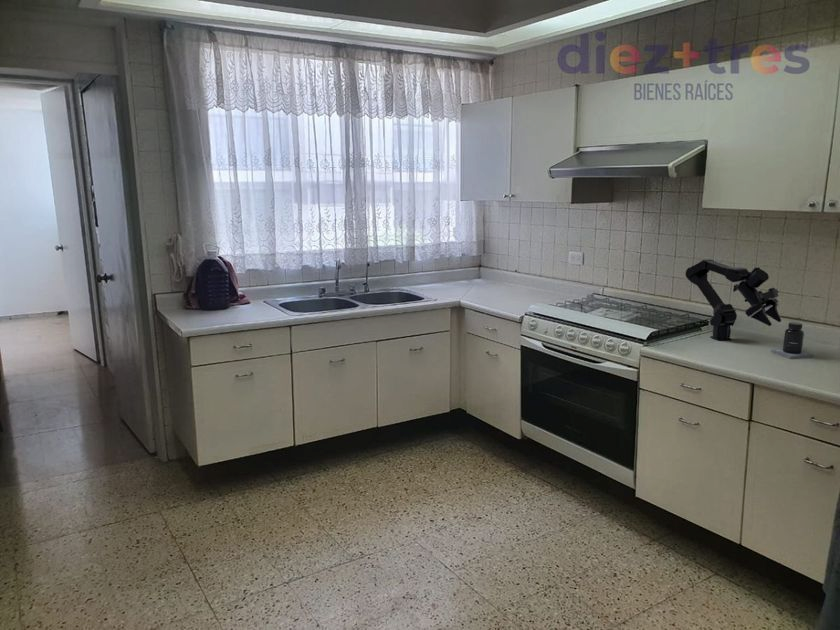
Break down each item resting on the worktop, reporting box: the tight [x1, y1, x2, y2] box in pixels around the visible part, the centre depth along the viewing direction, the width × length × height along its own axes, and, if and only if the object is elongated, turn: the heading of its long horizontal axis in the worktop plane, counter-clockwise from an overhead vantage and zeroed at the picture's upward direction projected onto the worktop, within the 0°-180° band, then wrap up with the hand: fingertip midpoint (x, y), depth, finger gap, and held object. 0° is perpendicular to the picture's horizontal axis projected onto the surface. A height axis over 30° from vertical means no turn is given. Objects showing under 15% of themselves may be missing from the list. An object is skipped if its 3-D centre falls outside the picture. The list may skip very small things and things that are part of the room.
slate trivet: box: [770, 348, 816, 360], centre depth 253 cm, size 11×11×1 cm
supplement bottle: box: [782, 321, 805, 354], centre depth 252 cm, size 7×7×12 cm
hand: (775, 323), depth 257 cm, fingers open, 9 cm apart
